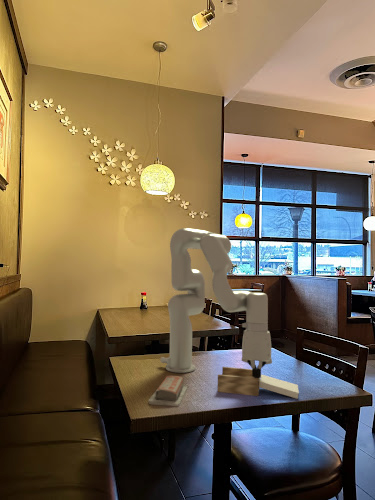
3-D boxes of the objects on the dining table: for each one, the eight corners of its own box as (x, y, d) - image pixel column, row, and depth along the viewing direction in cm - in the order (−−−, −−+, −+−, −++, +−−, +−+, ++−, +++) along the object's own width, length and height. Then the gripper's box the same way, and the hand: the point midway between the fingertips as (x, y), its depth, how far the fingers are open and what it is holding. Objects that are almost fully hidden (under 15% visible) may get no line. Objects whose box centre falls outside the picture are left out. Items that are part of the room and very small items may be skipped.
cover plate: (258, 387, 122) (260, 381, 122) (260, 379, 130) (261, 374, 130) (297, 398, 118) (298, 393, 118) (296, 390, 127) (297, 384, 127)
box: (217, 391, 124) (217, 375, 124) (222, 381, 135) (222, 366, 135) (258, 396, 120) (258, 379, 121) (260, 385, 131) (260, 370, 131)
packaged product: (161, 373, 130) (188, 375, 128) (161, 386, 130) (187, 388, 128) (148, 390, 112) (179, 392, 111) (148, 405, 112) (179, 408, 110)
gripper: (234, 327, 125) (234, 380, 125) (278, 330, 121) (278, 384, 121) (237, 324, 133) (236, 374, 132) (278, 326, 129) (278, 378, 128)
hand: (256, 379), depth 126 cm, fingers closed
